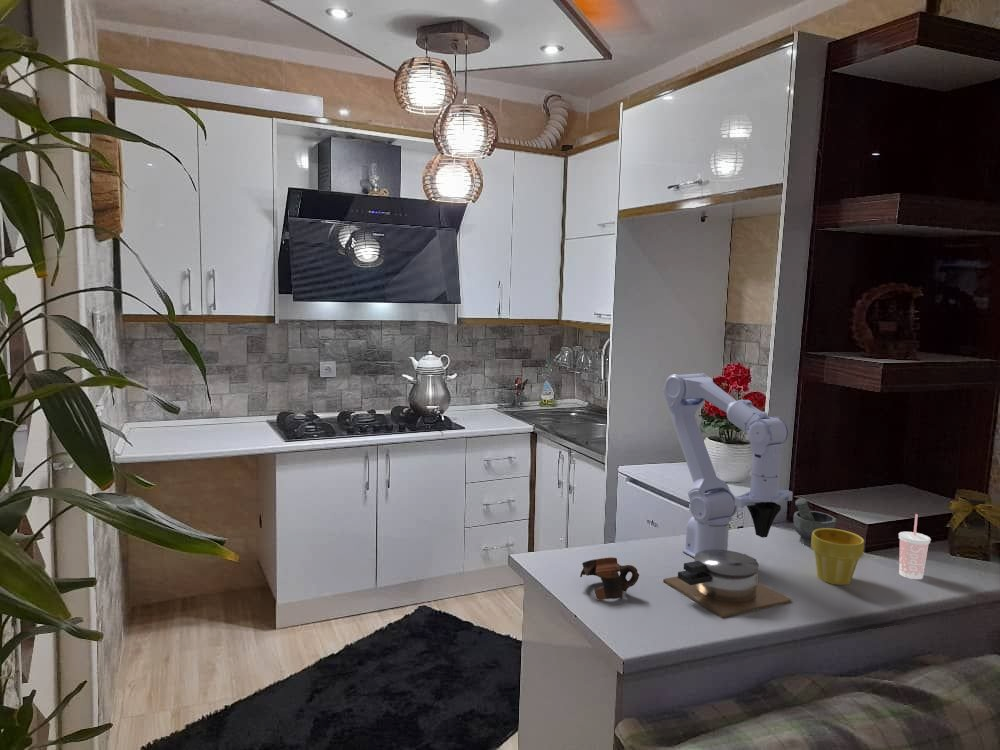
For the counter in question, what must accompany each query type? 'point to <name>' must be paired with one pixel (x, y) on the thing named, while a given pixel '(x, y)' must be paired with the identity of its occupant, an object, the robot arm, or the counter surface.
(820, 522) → the mortar and pestle
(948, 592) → the counter surface
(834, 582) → the plant pot
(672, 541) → the counter surface
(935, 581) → the counter surface
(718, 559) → the cooker lid
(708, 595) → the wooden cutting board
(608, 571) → the pottery mug
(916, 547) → the beverage cup
